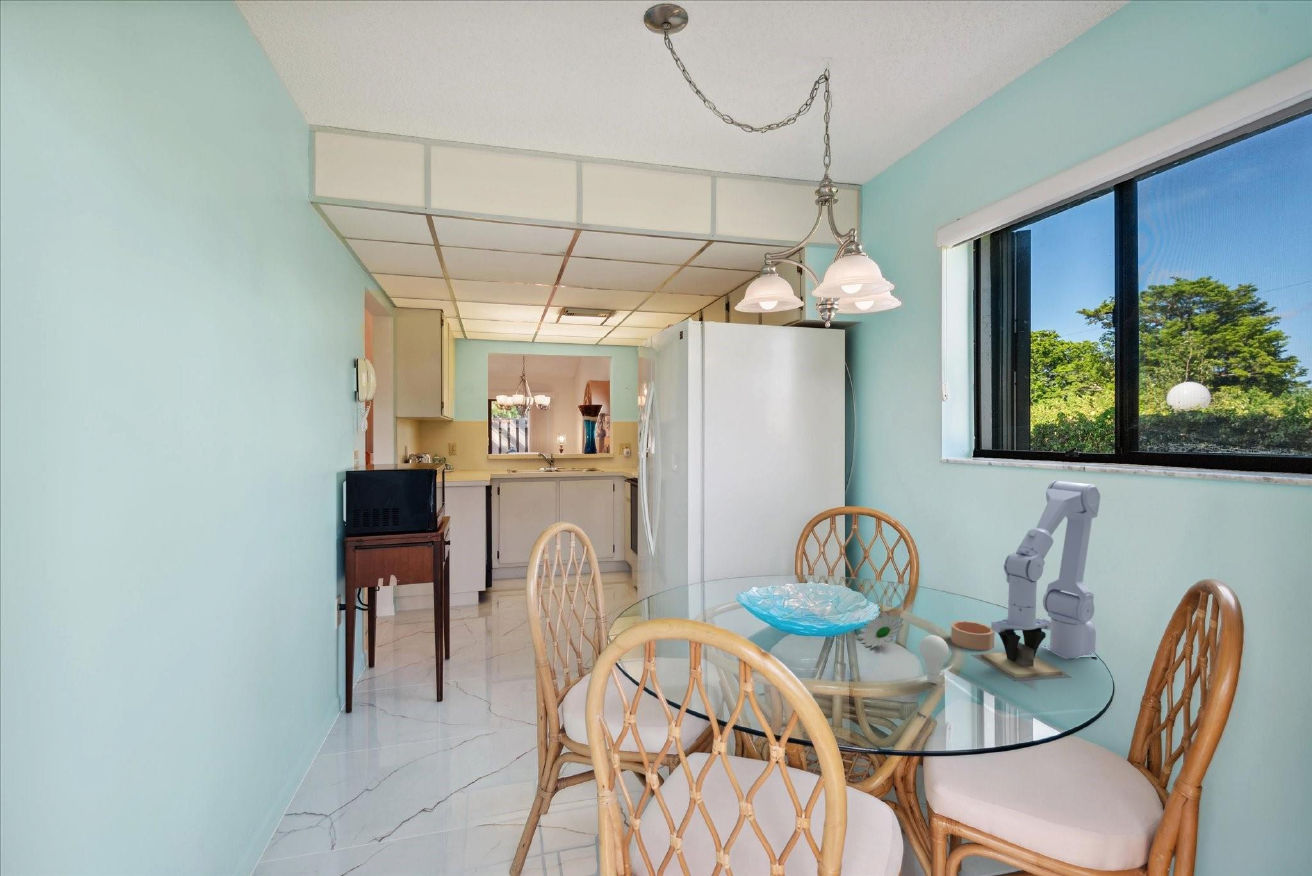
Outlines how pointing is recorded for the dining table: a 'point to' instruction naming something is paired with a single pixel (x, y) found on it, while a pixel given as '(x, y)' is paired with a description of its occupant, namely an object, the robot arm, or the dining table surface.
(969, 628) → the bowl
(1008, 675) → the mat
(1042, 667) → the lid
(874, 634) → the flower
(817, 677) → the dining table surface
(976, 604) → the dining table surface
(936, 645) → the lightbulb
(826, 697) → the dining table surface
